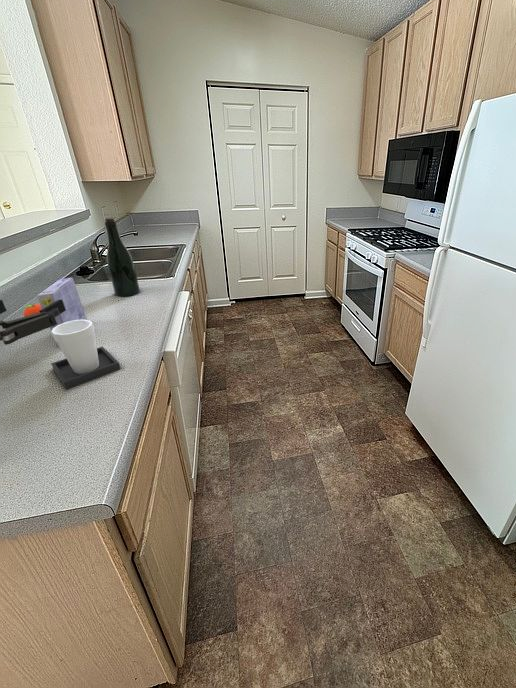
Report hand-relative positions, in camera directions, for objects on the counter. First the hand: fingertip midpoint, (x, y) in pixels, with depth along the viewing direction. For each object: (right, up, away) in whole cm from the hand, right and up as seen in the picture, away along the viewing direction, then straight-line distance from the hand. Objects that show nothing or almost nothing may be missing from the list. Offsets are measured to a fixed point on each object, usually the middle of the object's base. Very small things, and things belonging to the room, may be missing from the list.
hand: (32, 305), depth 76 cm
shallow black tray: (0, -17, +19) cm, 26 cm away
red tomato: (-37, -3, +48) cm, 61 cm away
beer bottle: (-18, +11, +76) cm, 79 cm away
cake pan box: (-18, -7, +40) cm, 45 cm away
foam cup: (0, -17, +19) cm, 25 cm away
